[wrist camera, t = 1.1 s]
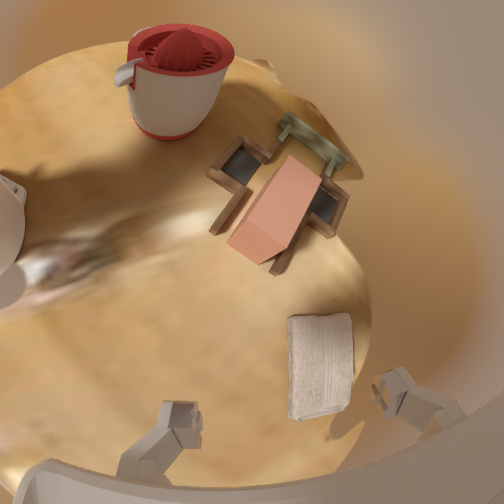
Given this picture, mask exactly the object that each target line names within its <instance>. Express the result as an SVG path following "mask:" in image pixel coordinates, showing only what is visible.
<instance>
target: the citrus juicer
mask: <svg viewBox="0 0 504 504" xmlns="http://www.w3.org/2000/svg"><path fill="white" fill-rule="evenodd" d="M234 54H235V53H234V49H233V47H232V45H231V43H230V42H229V41H228V40H227V39H226V38H225V37H223V36H222V35H220V34H219V33H217V32H214V31H212V30H210V29H207V28H204V27H200V26H196V25H190V24H165V25H159V26H155V27H151V28H149V29H146V30H144V31H142V32H140V33H138V34H137V35H136V36H134V37H133V38H132V39H131V41H130V42H129V44H128V54H127V63H125V64H123V65H121V66H120V67H118V68H117V70H116V73H115V78H114V81H115V85H116V87H121V86H124V85H126V84H127V92H128V102H129V106H130V110H131V112H132V115H133V118H134V120H135V123H136V124H137V126H138V127H139V128H140V129H141V130H142V132H143V133H145V134H146V135H147V136H149V137H151V138H154V139H158V140H177V139H180V138H183V137H185V136H187V135H189V134H190V133H191V132H193V131H194V130H195V129H196V128H197V127H198V126H199V125H200V124H201V123H202V121H203V120H204V118H205V117H206V116H207V115H208V113H209V111H210V110H211V108H212V106H213V104H214V102H215V100H216V98H217V95H218V93H219V90H220V87H221V85H222V82H223V79H224V77H225V74H226V72H227V69H228V66H229V65H230V64H231V62H232V61H233V59H234Z"/></svg>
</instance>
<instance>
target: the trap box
mask: <svg viewBox="0 0 504 504" xmlns="http://www.w3.org/2000/svg"><path fill="white" fill-rule="evenodd" d="M278 126H279V127H281V128H282V129H284V130H283V132H282V133H281V134H280V135H279V137H278V138H277V139H276V140H275V142H274V143H273V144H272V146H271V147H270V148H269V149H268V151H266V150H265V149H263V148H262V147H260V146H259V145H258V144H256V143H255V142H253V141H252V140H250V139H249V138H247V137H246V136H244V135H243V134H241V135H240V136H239V137H238V138H237V139H236V140H235V141H234V143H233V144H232V145H231V146H230V147H229V148H228V149H227V150H226V151H225V152H224V154H223V155H222V156H221V157H220V158H219V159H218V160H217V161H216V163H215V164H214V165H213V166H212V167H211V168H210V170H209V172H208V174H207V177H209V178H210V179H211V180H213V181H214V182H216V183H217V184H219V185H220V186H222V187H223V188H225V189H226V190H228V191H229V192H231V193H232V194H233V195H234V196H233V197H232V198H231V200H230V201H229V203H228V204H227V205H226V207H225V208H224V209H223V211H222V212H221V214H220V215H219V216H218V218H217V219H216V221H215V222H214V223H213V225H212V226H211V228H210V230H209V232H211V233H212V234H213V235H216V234H217V232H218V231H219V229H220V228H221V226H222V225H223V223H224V222H225V221H226V219H227V218H228V216H229V215H230V213H231V212H232V211H233V209H234V208H235V206H236V205H237V203H238V202H239V201H240V199H241V198H242V196H243V195H244V194H245V192H246V191H247V188H246V187H245V186H244V185H245V184H246V183H247V181H248V180H249V179H250V177H251V176H252V175H253V173H254V172H255V171H256V169H257V168H258V167H259V165H260V164H261V162H262V163H264V164H265V165H266V163H267V162H268V161H269V159H270V158H271V156H272V155H273V154H274V152H275V151H276V150H277V148H278V147H279V146H280V144H281V143H282V142H283V140H284V139H285V138H286V137H287V135H288V134H291V135H292V136H293V137H295V138H296V139H298V140H299V141H300V142H302V143H303V144H304V145H306V146H307V147H308V148H310V149H311V150H312V151H314V152H315V153H316V154H318V155H319V156H320V157H321V158H323V159H324V160H325V161H326V162H327V163H326V165H325V167H324V169H323V171H322V173H321V175H320V178H321V179H322V181H321V183H320V186H321V187H322V188H324V189H325V190H326V191H327V192H328V193H330V194H331V195H332V196H333V197H335V198H336V199H337V200H338V201H337V200H336V199H334V198H333V197H332V196H331V195H330V194H328V193H327V192H326V191H325V190H323V189H322V188H321V187H320V186H319V187H318V189H317V191H316V193H315V195H314V197H313V199H312V201H311V203H310V205H309V207H308V208H307V210H306V212H305V214H304V216H303V218H302V220H301V222H300V224H299V226H298V228H297V230H296V231H295V233H294V235H293V237H292V239H291V241H290V243H289V245H288V247H287V248H286V249H284V250H282V251H281V252H279V254H278V256H277V258H276V259H275V261H274V263H273V265H272V267H271V269H270V270H269V273H271V274H272V275H274V276H277V275H279V274H280V273H281V271H282V269H283V268H284V266H285V264H286V262H287V260H288V258H289V256H290V254H291V252H292V250H293V248H294V246H295V244H296V243H297V241H298V239H299V237H300V235H301V233H302V231H303V229H304V227H305V225H306V223H307V224H309V225H310V226H311V227H313V228H314V229H315V230H317V231H318V232H319V233H321V234H322V235H323V236H324V237H326V238H327V239H328V238H330V237H332V236H334V234H335V232H336V229H337V227H338V225H339V222H340V220H341V217H342V215H343V212H344V209H345V207H346V205H347V202H348V199H349V195H348V194H347V193H346V192H345V191H344V190H342V189H341V188H340V187H339V186H338V185H336V184H335V183H334V182H333V181H331V180H330V179H329V177H330V175H331V173H332V171H333V169H334V168H335V169H336V170H339V169H341V168H342V167H343V166H344V165H345V164H347V163H348V162H349V160H350V158H349V157H348V156H347V155H346V154H345V153H343V152H342V151H341V150H340V149H338V148H337V147H336V146H335V145H334V144H332V143H331V142H330V141H328V140H327V139H326V138H325V137H323V136H322V135H321V134H319V133H318V132H317V131H315V130H314V129H313V128H311V127H310V126H309V125H307V124H306V123H305V122H303V121H302V120H301V119H299V118H298V117H296V116H295V115H293V114H292V113H291V112H289V111H287V112H286V113H285V114H284V116H283V117H282V119H281V120H280V122H279V123H278ZM239 148H242V149H243V150H245V151H246V152H248V153H249V154H251V155H252V156H254V157H255V158H257V159H258V160H260V161H261V162H259V161H258V160H256V159H255V158H253V157H252V156H250V155H249V154H248V153H246V152H245V151H243V150H242V149H240V150H239ZM238 150H239V151H238ZM237 151H238V152H237ZM236 152H237V153H236ZM235 153H236V154H235ZM234 154H235V155H234ZM233 155H234V157H233V158H232V156H233ZM231 158H232V159H231ZM230 159H231V160H230ZM229 160H230V161H229ZM228 161H229V162H228ZM227 162H228V164H227V165H226V163H227ZM225 165H226V166H225ZM224 166H225V167H224ZM223 167H224V168H223ZM222 168H223V170H222V171H221V169H222ZM336 203H337V204H336ZM335 205H336V206H335ZM334 207H335V208H334ZM333 210H334V211H333ZM332 212H333V213H332ZM331 214H332V215H331ZM329 219H330V220H329ZM328 221H329V222H328ZM327 223H328V224H327Z"/></svg>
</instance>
